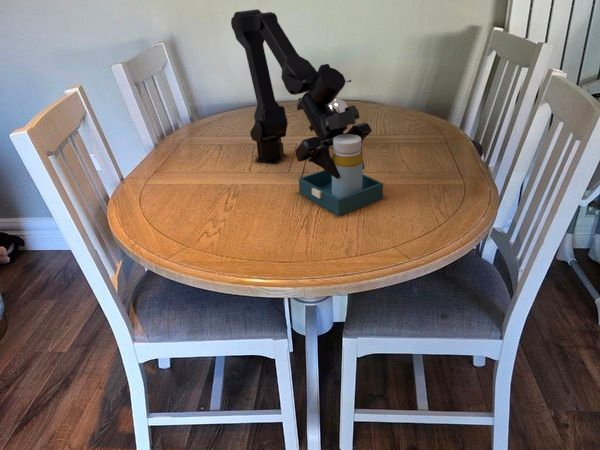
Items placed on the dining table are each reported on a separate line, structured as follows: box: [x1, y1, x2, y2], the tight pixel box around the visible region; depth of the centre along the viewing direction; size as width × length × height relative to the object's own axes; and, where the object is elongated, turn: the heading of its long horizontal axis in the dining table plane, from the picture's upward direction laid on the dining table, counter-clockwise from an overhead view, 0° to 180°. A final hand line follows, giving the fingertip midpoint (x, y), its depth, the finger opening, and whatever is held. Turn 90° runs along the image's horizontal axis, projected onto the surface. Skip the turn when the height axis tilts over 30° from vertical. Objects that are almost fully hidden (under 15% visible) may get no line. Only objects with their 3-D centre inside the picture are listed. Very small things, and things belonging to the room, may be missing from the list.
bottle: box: [331, 134, 364, 198], centre depth 110 cm, size 7×7×15 cm
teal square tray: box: [298, 169, 384, 217], centre depth 115 cm, size 15×14×4 cm
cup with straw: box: [328, 78, 352, 148], centre depth 140 cm, size 8×9×20 cm
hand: (350, 173), depth 109 cm, fingers closed on bottle, 7 cm apart
